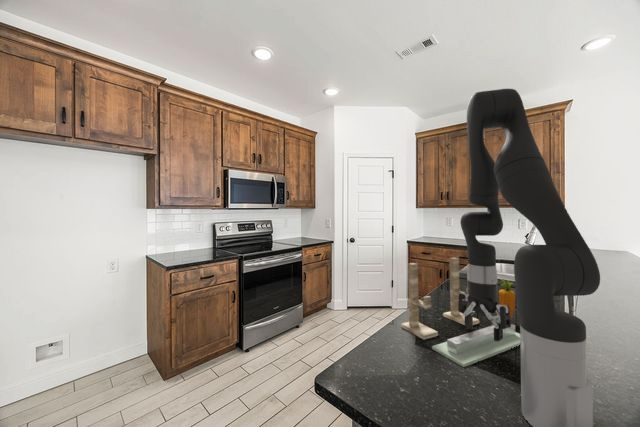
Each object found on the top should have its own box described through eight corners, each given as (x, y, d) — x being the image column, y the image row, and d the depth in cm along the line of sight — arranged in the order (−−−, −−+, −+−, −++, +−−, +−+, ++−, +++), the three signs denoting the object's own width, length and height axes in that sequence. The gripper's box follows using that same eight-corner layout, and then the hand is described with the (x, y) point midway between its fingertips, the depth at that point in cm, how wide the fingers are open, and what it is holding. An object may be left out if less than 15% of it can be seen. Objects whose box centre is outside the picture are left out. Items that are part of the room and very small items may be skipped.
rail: (515, 334, 82) (515, 325, 82) (456, 355, 71) (456, 344, 71) (505, 330, 84) (505, 321, 84) (447, 350, 74) (447, 339, 74)
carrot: (519, 326, 89) (518, 281, 89) (502, 325, 90) (502, 281, 90) (511, 320, 94) (510, 278, 94) (496, 319, 95) (495, 277, 95)
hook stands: (479, 323, 92) (478, 260, 92) (423, 339, 82) (422, 268, 81) (454, 313, 101) (453, 256, 101) (401, 327, 91) (400, 263, 90)
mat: (531, 340, 79) (531, 338, 79) (463, 367, 67) (463, 364, 67) (497, 327, 89) (497, 325, 89) (432, 348, 76) (432, 346, 76)
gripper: (451, 275, 83) (452, 327, 83) (498, 287, 70) (499, 348, 70) (468, 273, 86) (469, 322, 86) (516, 283, 73) (516, 342, 73)
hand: (482, 334), depth 78 cm, fingers open, 8 cm apart
